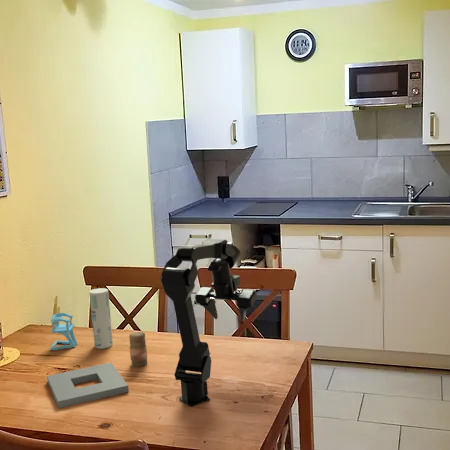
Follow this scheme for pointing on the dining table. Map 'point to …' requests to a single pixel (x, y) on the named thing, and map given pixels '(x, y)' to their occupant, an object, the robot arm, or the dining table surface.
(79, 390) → the slotted shelf board
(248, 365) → the dining table surface
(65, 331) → the chair
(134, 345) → the lidded jar
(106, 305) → the spray can
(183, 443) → the dining table surface
